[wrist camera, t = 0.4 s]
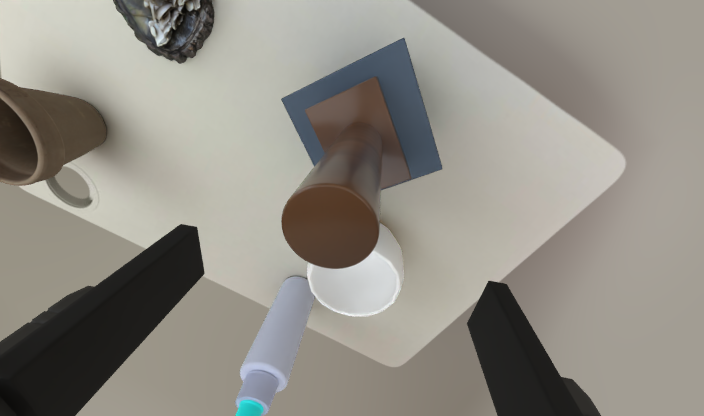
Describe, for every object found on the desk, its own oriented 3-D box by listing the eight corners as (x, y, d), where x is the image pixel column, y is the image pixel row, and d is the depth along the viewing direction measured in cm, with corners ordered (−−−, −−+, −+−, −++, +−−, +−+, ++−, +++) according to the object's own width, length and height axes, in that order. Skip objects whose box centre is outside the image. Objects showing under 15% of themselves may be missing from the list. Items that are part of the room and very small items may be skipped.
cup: (307, 214, 39) (285, 253, 30) (388, 192, 36) (389, 229, 27) (337, 277, 44) (325, 326, 35) (410, 262, 41) (417, 312, 32)
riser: (316, 91, 31) (280, 98, 20) (396, 52, 28) (404, 37, 18) (349, 167, 35) (334, 206, 24) (423, 138, 32) (443, 169, 21)
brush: (317, 104, 20) (194, 153, 7) (377, 76, 19) (361, 73, 6) (352, 183, 23) (309, 324, 10) (407, 163, 22) (443, 296, 8)
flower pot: (46, 53, 33) (-82, 44, 24) (133, 110, 35) (45, 122, 26) (39, 130, 37) (-70, 146, 28) (116, 176, 39) (37, 204, 31)
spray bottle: (276, 290, 46) (198, 444, 27) (292, 269, 44) (218, 423, 24) (305, 306, 47) (250, 466, 28) (322, 286, 45) (275, 448, 25)
